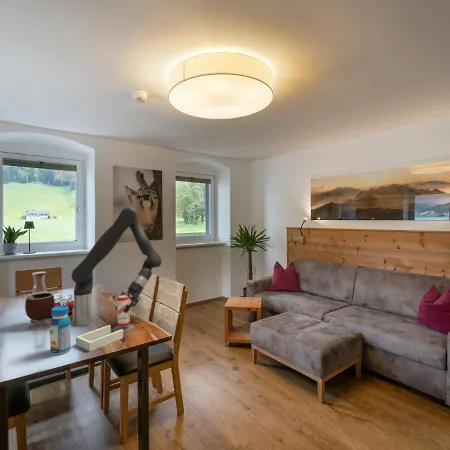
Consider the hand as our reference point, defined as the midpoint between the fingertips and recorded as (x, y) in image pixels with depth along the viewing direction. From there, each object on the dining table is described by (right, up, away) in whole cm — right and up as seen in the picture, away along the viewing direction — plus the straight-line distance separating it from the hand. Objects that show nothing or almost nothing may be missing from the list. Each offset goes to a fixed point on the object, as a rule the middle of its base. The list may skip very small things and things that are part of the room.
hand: (120, 311), depth 157 cm
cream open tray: (-5, -11, -14) cm, 18 cm away
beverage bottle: (-19, -11, -24) cm, 33 cm away
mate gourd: (-47, -10, +5) cm, 48 cm away
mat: (+1, -10, +2) cm, 10 cm away
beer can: (+1, -8, +2) cm, 9 cm away
